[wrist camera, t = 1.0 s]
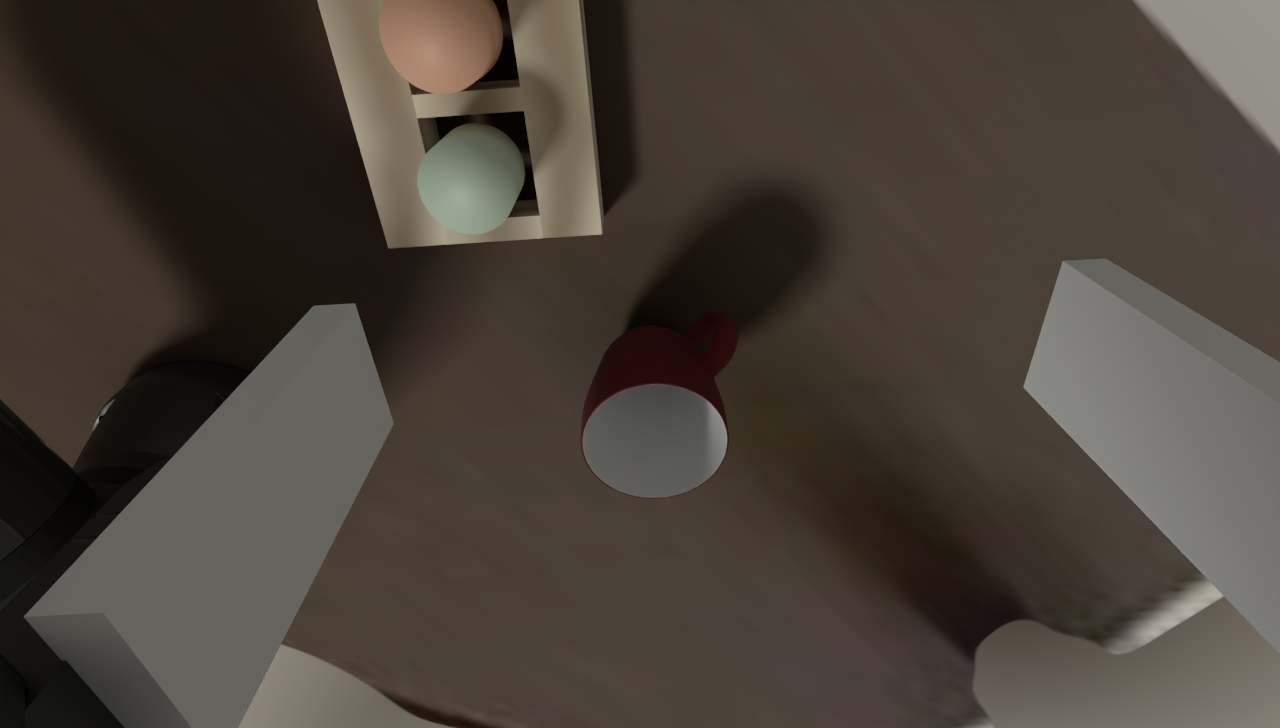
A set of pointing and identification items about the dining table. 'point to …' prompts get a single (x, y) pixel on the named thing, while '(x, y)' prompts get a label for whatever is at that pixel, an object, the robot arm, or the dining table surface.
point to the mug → (659, 409)
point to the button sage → (471, 178)
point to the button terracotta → (441, 41)
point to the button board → (405, 115)
